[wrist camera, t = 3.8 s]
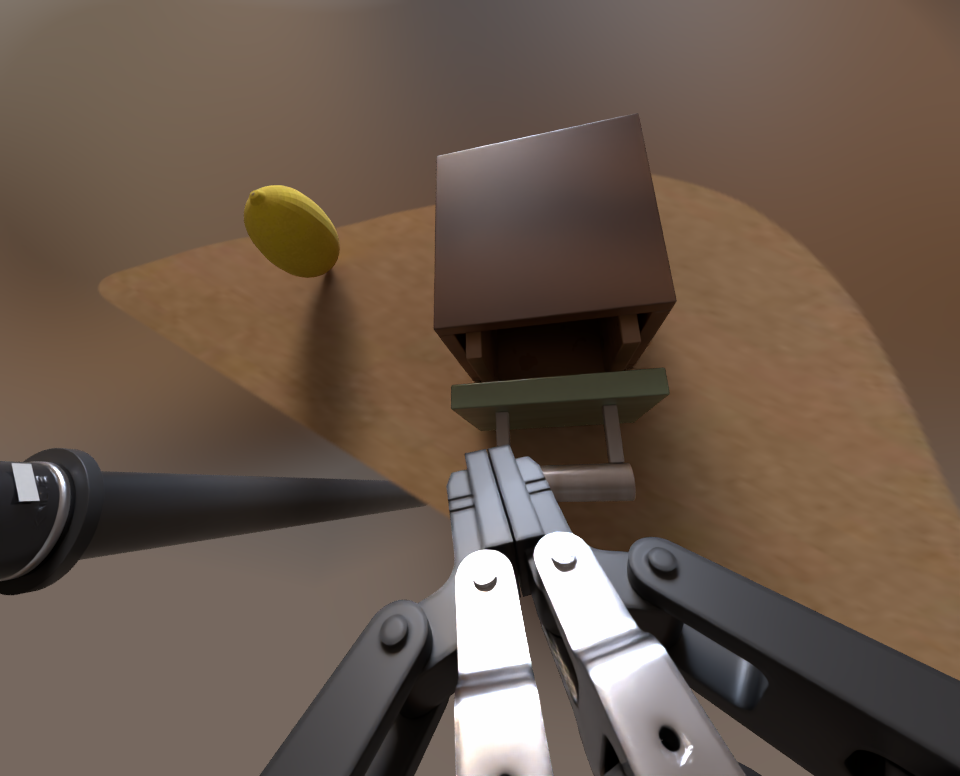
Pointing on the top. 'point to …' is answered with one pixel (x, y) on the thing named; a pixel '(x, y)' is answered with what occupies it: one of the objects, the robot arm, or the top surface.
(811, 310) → the top surface
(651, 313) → the cabinet
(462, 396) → the drawer
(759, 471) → the top surface
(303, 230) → the lemon
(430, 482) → the top surface
